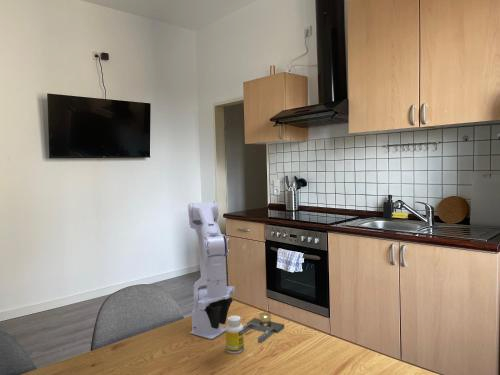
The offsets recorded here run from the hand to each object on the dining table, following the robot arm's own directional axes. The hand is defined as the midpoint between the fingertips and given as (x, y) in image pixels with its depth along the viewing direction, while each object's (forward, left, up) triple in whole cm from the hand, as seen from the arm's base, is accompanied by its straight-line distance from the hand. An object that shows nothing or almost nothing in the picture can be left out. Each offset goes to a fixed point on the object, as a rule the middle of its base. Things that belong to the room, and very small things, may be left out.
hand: (218, 325), depth 104 cm
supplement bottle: (0, +8, -11) cm, 13 cm away
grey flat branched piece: (0, +21, -10) cm, 24 cm away
